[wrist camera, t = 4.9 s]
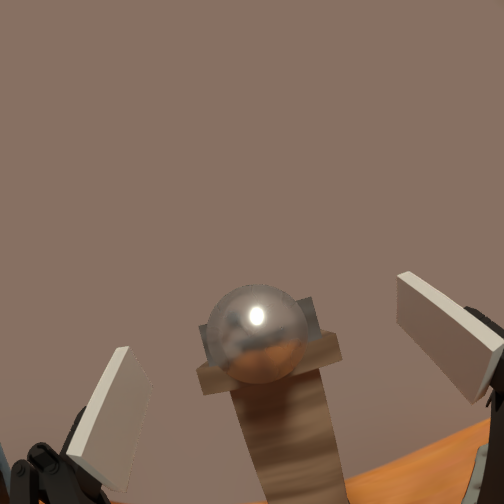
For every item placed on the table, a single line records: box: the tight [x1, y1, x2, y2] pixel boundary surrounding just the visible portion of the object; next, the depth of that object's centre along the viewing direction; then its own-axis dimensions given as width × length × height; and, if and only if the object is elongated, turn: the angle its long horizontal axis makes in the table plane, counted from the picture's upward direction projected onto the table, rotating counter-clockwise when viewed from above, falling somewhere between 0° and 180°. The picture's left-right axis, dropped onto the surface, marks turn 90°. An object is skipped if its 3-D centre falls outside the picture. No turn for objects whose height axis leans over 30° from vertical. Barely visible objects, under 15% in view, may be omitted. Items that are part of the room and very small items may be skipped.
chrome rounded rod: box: [206, 285, 308, 384], centre depth 20 cm, size 20×4×4 cm, turn 177°
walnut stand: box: [196, 297, 350, 504], centre depth 21 cm, size 14×10×33 cm
